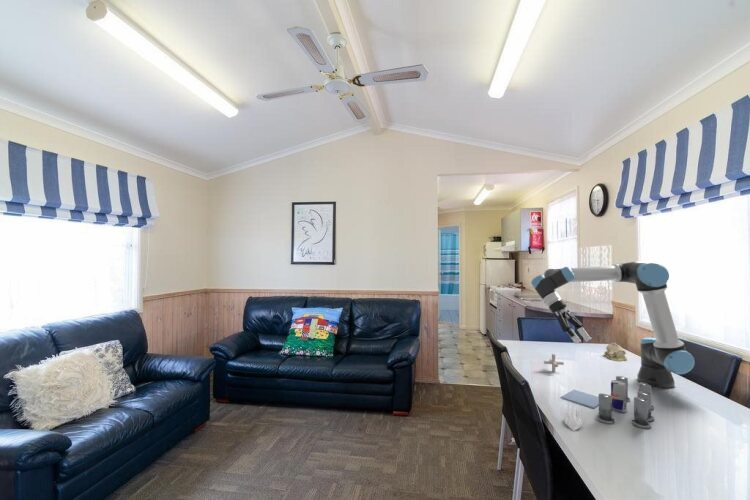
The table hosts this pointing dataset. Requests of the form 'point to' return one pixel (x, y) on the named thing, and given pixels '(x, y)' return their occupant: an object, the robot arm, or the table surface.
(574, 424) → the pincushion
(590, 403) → the mat
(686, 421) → the table surface
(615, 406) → the energy drink
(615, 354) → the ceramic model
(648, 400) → the spacer posts
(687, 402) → the table surface
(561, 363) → the pipe connector
